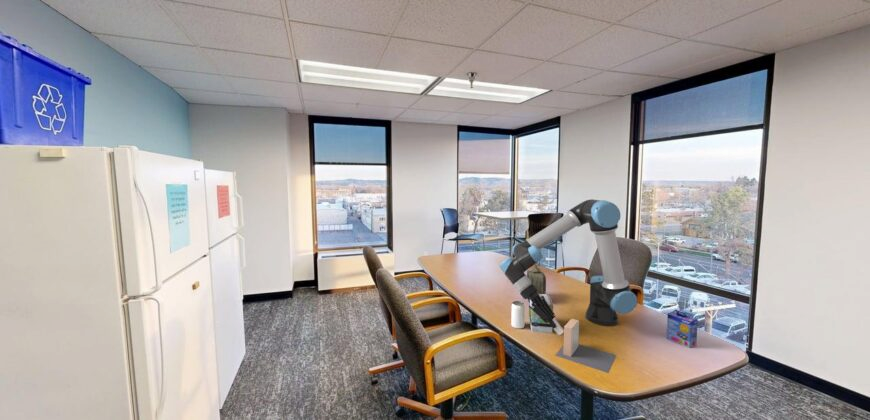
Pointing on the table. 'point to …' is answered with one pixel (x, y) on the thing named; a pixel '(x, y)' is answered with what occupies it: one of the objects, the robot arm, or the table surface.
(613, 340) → the table surface
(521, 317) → the can
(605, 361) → the mat
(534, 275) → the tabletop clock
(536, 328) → the tea box
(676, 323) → the ink cartridge box
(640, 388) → the table surface
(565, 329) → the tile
